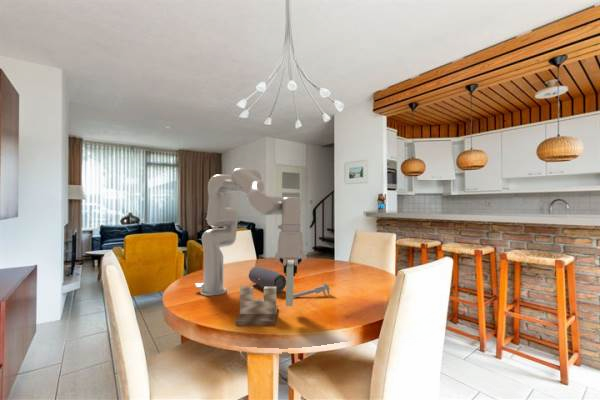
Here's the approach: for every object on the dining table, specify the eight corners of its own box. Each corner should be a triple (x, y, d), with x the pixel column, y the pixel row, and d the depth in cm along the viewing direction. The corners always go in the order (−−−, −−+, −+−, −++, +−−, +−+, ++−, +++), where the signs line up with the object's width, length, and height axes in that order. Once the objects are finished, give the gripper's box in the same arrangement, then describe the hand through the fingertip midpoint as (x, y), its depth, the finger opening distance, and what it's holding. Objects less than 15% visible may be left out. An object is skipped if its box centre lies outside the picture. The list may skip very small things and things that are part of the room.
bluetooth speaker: (247, 285, 152) (247, 267, 152) (261, 282, 159) (261, 264, 159) (272, 296, 135) (272, 275, 135) (287, 292, 142) (287, 272, 142)
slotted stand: (236, 325, 103) (236, 294, 103) (244, 308, 119) (244, 281, 119) (274, 325, 103) (274, 294, 103) (277, 308, 119) (277, 281, 119)
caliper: (328, 295, 138) (328, 282, 138) (329, 295, 137) (329, 282, 137) (287, 298, 133) (288, 284, 133) (288, 298, 132) (288, 285, 132)
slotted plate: (292, 306, 103) (293, 268, 103) (285, 305, 103) (286, 268, 103) (293, 293, 117) (294, 259, 117) (287, 293, 117) (288, 259, 117)
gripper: (269, 229, 107) (268, 277, 107) (312, 229, 107) (311, 278, 107) (271, 227, 114) (270, 272, 114) (311, 227, 114) (310, 272, 114)
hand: (290, 274), depth 110 cm, fingers closed on slotted plate, 2 cm apart
